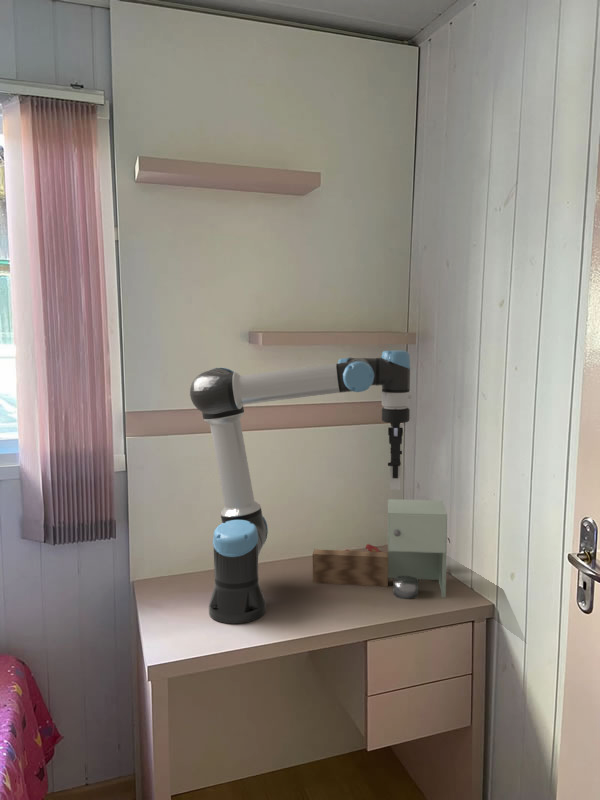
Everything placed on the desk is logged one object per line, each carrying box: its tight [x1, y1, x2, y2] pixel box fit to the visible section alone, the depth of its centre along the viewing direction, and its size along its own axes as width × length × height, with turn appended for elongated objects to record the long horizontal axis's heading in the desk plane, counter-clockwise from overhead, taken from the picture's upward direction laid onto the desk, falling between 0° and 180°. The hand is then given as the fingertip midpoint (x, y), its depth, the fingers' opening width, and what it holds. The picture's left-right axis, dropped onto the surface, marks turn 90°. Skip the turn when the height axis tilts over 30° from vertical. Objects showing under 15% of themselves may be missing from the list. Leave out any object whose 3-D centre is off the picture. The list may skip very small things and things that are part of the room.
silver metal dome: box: [392, 576, 419, 600], centre depth 183 cm, size 7×7×4 cm
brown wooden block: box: [312, 548, 389, 587], centre depth 192 cm, size 22×4×9 cm, turn 82°
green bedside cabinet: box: [387, 498, 448, 599], centre depth 186 cm, size 16×16×24 cm
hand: (395, 483), depth 179 cm, fingers open, 13 cm apart
